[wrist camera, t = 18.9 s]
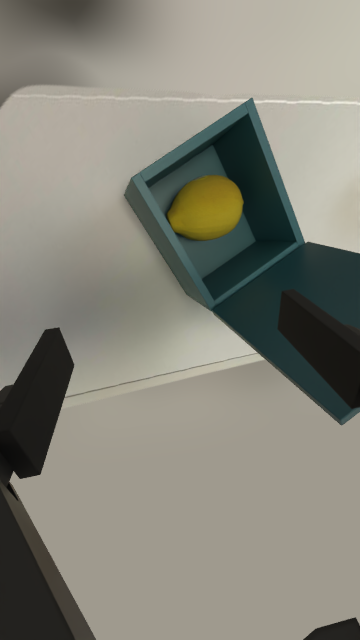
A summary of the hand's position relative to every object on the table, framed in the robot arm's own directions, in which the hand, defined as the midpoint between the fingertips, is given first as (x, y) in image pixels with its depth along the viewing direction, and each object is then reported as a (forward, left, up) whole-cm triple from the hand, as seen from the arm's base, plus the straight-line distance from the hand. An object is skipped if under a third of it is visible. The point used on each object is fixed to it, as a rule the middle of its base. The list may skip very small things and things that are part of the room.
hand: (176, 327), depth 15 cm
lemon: (-2, +13, -24) cm, 27 cm away
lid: (+9, +13, -5) cm, 16 cm away
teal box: (-1, +13, -25) cm, 28 cm away
